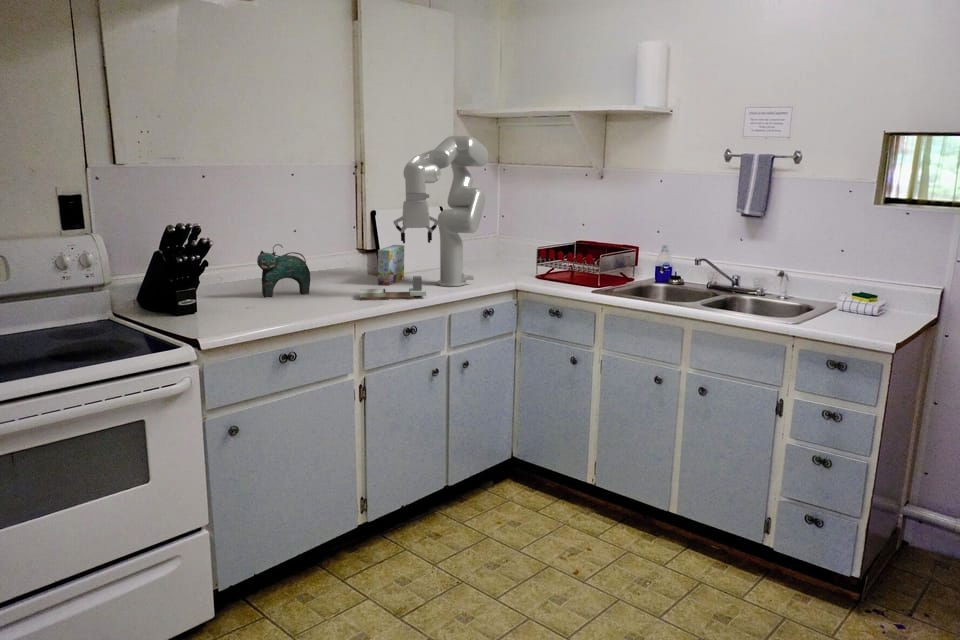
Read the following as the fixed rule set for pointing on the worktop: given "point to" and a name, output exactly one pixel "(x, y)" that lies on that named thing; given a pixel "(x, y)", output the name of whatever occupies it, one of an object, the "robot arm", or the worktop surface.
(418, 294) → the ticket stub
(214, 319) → the worktop surface
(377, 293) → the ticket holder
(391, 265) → the snack box
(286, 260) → the ceramic cat
